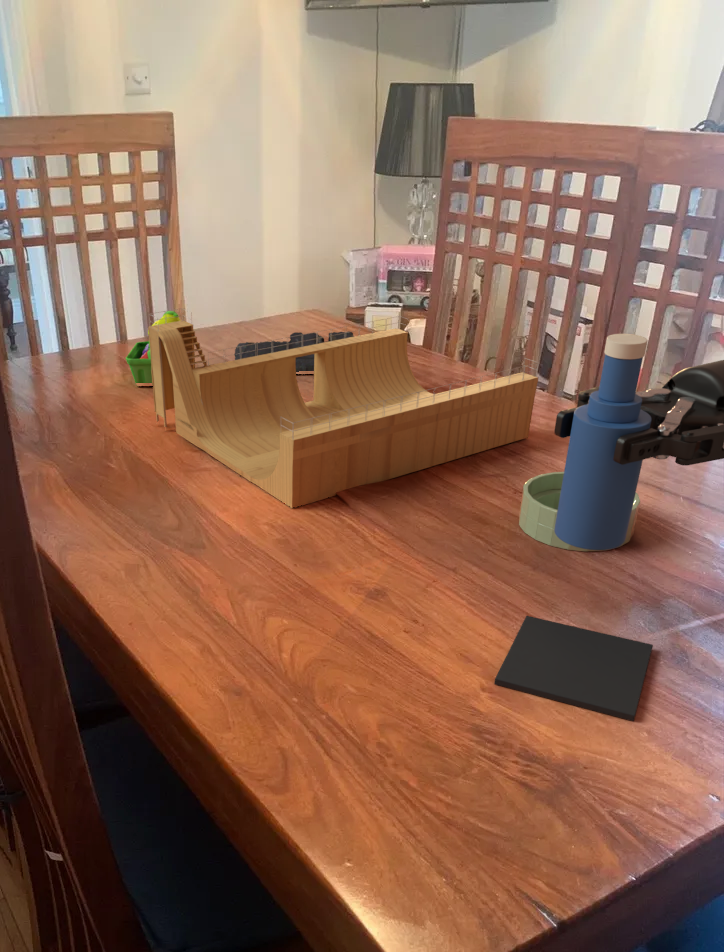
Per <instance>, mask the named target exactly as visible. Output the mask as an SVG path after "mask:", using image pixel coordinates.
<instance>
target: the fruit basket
mask: <svg viewBox="0 0 724 952" xmlns="http://www.w3.org/2000/svg"><path fill="white" fill-rule="evenodd" d="M176 316H179V314H178V313H177V312H176V311H175V310H172V311H169V310H166V311H165V312H163V314H162V317H160V318H159V319H160V320H158V319H157V320H155V322H153V323H154V324H153V323H152V324H151V326H153V325H159V324H165V319H164V318H165V317H166V318H167V323H171V322H177V321H182V319H180V316H179V317H176ZM170 317H173V318H170ZM147 335H148V336H149V329H148V330H147ZM125 361H126V363H127V365H128V367H129V369H130V372H131V375H132V377H133V380H134V383H135V384H136V383H152V372H151V370H152V367H151V354H150V341H149V340H147V341H146V340H145V341H138V342H136V343H135V344H134V346H133V347H132V348H131V350H130V351H129V353H128V354H127V355H126V357H125Z"/></svg>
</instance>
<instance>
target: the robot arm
mask: <svg viewBox="0 0 724 952" xmlns="http://www.w3.org/2000/svg"><path fill="white" fill-rule="evenodd" d="M599 386H600V385H599ZM599 386H595V387H592V388H589V389H586V390H583V391H579V392H578V395H577V404H576V407H572V408H567V409H564V410H563V409H562V410H560V411H558V413H557V415H556V417H555V425H554V435H555V436H557V437H559V438H562V439H565V438H570V434H571V428H572V422H573V416H574V411H575V410H576V409H577V408H578V407H580V406H583V405H587V404H589V398H590V395H591V393H593V392H595V391H599ZM635 394H637V395H638V396H640V397H641V398H642V404H641V408H640V409H641V410H643V411H645V412H646V413H648V414H649V415H650V416H651V425H650V429H646V430H642V431H638V432H634V433H631V434H627V435H623V436H620V437H619V438H618V440H617V442H616V447H615V452H614V457H613V460H614V461H615V462H617V463H619V464H621V465H624V464H628V463H631V462H636V461H640V460H643V461H644V460H648V459H651V458H653V459H656V460H667V459H668V458H669V457H673V458H675V461H674V463H676V464H677V465H679V466H692V465H698V464H703V463H709V462H712V461H713V462H714V461H718V460H719V461H720V460H724V359H721V360H715V361H711V362H709V363H708V362H707V363H703V364H699V365H694V366H690V367H686V368H684V369H681V370H680V371H678V372H677V373H674V374H673V376H672V377H671V378H670V379H669V380H667V382H666V383H665V384H664V385H663V386H662V387H659V388H657V387H656V388H649V389H647V390H641V391H636V393H635Z"/></svg>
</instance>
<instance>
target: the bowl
mask: <svg viewBox="0 0 724 952" xmlns="http://www.w3.org/2000/svg"><path fill="white" fill-rule="evenodd" d="M563 476H564V471H553V472H552V471H551V472H547V473H542V474H541V473H540V474H538V475H535V476H533V477H531V478H529V479H528V480H527V481H525V483H524V484H523V486H522V494H521V499H520V507H519V514H518V526H519V528H520V529H521V530H522V531H523V533H525V534H526V535H528V536H529V537H531V538H532V539H533V540H535V541H538V542H540V543H543V544H545V545H547V546H549V547H554V548H558V549H563V550H566V551H567V550H568V551H577V552H602V551H603V552H604V551H610V550H611V549H608V550H589V549H583V548H579V547H575V546H572V545H569V544H567V543H565V542H563V541H562V540H560V539H559V538H558V537H557V536H556V534H555V531H554V529H555V523H556V517H557V511H558V505H559V499H560V493H561V487H562V482H563ZM640 505H641V499H640V495H639V493H637V492H636V493H635V498H634V502H633V507H632V512H631V516H630V521H629V525H628V530H627V534H626V539H625V541H624V543H623V544H622V545H620V546H619V547H616V548H613V549H619V548H621V547H622V546H624V545H625V544H628V543H629V542H630V541H631V539H632V538H633V536H634V531H635V528H636V523H637V518H638V515H639V510H640ZM613 549H612V550H613Z"/></svg>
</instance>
